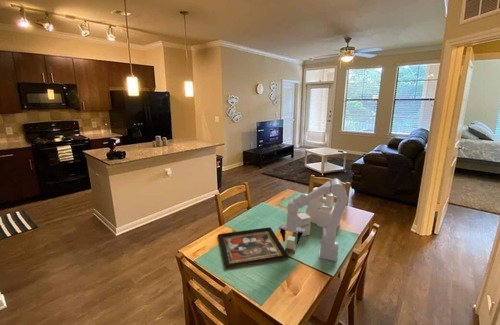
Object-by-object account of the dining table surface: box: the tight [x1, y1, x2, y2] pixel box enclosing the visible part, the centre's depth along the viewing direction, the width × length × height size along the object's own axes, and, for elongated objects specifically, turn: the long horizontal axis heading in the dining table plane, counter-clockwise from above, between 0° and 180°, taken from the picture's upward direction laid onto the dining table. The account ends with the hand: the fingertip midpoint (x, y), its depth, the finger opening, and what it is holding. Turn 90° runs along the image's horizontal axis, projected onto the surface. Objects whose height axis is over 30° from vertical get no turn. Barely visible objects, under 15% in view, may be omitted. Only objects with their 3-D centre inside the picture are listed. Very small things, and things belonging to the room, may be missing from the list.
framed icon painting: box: [217, 227, 290, 270], centre depth 144 cm, size 38×35×3 cm
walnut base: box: [284, 243, 297, 254], centre depth 141 cm, size 6×6×2 cm
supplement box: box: [294, 212, 312, 237], centre depth 157 cm, size 7×7×13 cm
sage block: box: [286, 235, 296, 249], centre depth 140 cm, size 4×4×6 cm
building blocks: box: [305, 186, 342, 229], centre depth 168 cm, size 22×12×25 cm, turn 49°
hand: (290, 242), depth 140 cm, fingers open, 7 cm apart
